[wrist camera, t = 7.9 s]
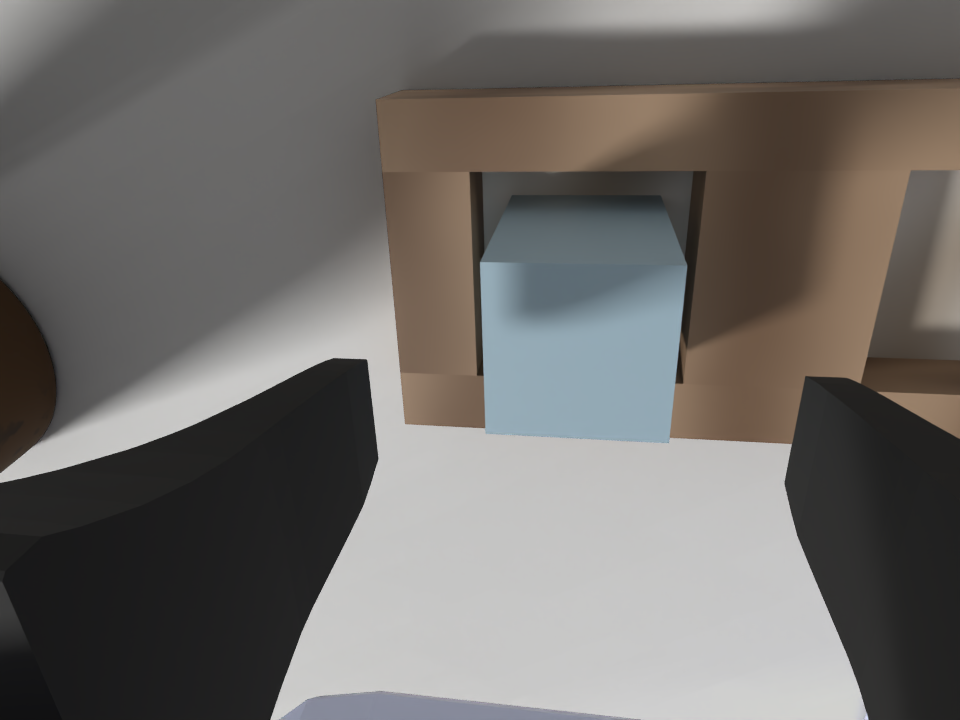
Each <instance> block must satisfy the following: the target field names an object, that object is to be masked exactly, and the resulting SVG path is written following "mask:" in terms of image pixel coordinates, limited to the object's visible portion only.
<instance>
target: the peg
mask: <svg viewBox="0 0 960 720" xmlns="http://www.w3.org/2000/svg"><path fill="white" fill-rule="evenodd" d="M686 274H687V263H686V261H685V258H684V255H683V253H682V250H681V247H680V245H679V242H678V240H677V237H676V234H675V232H674V229H673V226H672V224H671V221H670V218H669V216H668V213H667V211H666V208H665V205H664V203H663V200H662V197H661V195H512V196H511V198H510V200H509V203H508V205H507V207H506V209H505V211H504V213H503V215H502V217H501V219H500V221H499V223H498V226H497V228H496V230H495V232H494V234H493V236H492V238H491V240H490V242H489V244H488V247H487V249H486V251H485V253H484V255H483V257H482V259H481V261H480V277H481V308H482V338H483V369H484V400H485V431H486V434H503V435H522V436H541V437H560V438H579V439H598V440H617V441H636V442H655V443H669V438H670V429H671V419H672V409H673V399H674V390H675V380H676V370H677V361H678V351H679V341H680V332H681V322H682V312H683V303H684V293H685V283H686Z"/></svg>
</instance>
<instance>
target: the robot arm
mask: <svg viewBox="0 0 960 720" xmlns="http://www.w3.org/2000/svg"><path fill="white" fill-rule="evenodd" d="M377 462H378V451H377V442H376V434H375V425H374V416H373V407H372V398H371V389H370V381H369V372H368V363H367V360H366V359H339V358H333V359H330V360H327V361H324V362H322V363H320V364H317V365H315V366H313V367H311V368H309V369H307V370H305V371H303V372H301V373H299V374H297V375H295V376H293V377H291V378H289V379H287V380H285V381H283V382H281V383H279V384H277V385H275V386H274V387H272V388H270V389H268V390H266V391H264V392H262V393H260V394H258V395H256V396H254V397H252V398H250V399H248V400H246V401H244V402H242V403H240V404H238V405H235V406H233V407H231V408H229V409H227V410H225V411H223V412H221V413H218V414H216V415H214V416H212V417H210V418H208V419H206V420H203V421H201V422H199V423H197V424H195V425H192V426H190V427H187V428H185V429H183V430H180V431H178V432H175V433H173V434H170V435H167V436H165V437H162V438H159V439H157V440H154V441H151V442H148V443H146V444H143V445H140V446H137V447H134V448H131V449H128V450H125V451H122V452H119V453H115V454H112V455H108V456H105V457H102V458H98V459H95V460H91V461H88V462H85V463H81V464H78V465H74V466H71V467H67V468H64V469H60V470H56V471H52V472H48V473H43V474H39V475H35V476H31V477H27V478H22V479H17V480H13V481H8V482H3V483H0V720H270V719H271V716H272V713H273V710H274V707H275V704H276V701H277V698H278V695H279V692H280V689H281V687H282V684H283V681H284V678H285V676H286V673H287V670H288V668H289V665H290V662H291V659H292V657H293V654H294V651H295V649H296V646H297V643H298V640H299V638H300V635H301V632H302V630H303V628H304V626H305V623H306V621H307V619H308V617H309V614H310V612H311V610H312V608H313V606H314V604H315V602H316V600H317V598H318V596H319V594H320V592H321V590H322V588H323V586H324V584H325V582H326V580H327V578H328V576H329V574H330V572H331V570H332V568H333V566H334V564H335V562H336V560H337V558H338V556H339V554H340V552H341V550H342V548H343V546H344V544H345V542H346V540H347V538H348V536H349V534H350V532H351V530H352V528H353V526H354V524H355V522H356V520H357V518H358V516H359V514H360V511H361V509H362V507H363V505H364V502H365V499H366V496H367V493H368V490H369V487H370V485H371V481H372V478H373V475H374V471H375V468H376V465H377ZM785 487H786V492H787V496H788V500H789V505H790V509H791V513H792V517H793V521H794V525H795V528H796V532H797V536H798V538H799V541H800V543H801V546H802V548H803V551H804V553H805V556H806V558H807V561H808V563H809V565H810V568H811V570H812V573H813V575H814V578H815V580H816V582H817V585H818V587H819V589H820V592H821V594H822V597H823V599H824V601H825V604H826V606H827V608H828V611H829V613H830V615H831V618H832V620H833V623H834V625H835V627H836V630H837V632H838V634H839V637H840V639H841V642H842V644H843V646H844V649H845V651H846V653H847V656H848V658H849V661H850V664H851V666H852V669H853V672H854V675H855V677H856V680H857V683H858V685H859V688H860V692H861V695H862V699H863V702H864V705H865V709H866V712H867V713H866V716H865V719H864V720H960V439H959V438H957V437H955V436H954V435H952V434H950V433H948V432H946V431H945V430H943V429H941V428H939V427H937V426H936V425H934V424H932V423H930V422H929V421H927V420H925V419H923V418H922V417H920V416H918V415H916V414H915V413H913V412H911V411H909V410H908V409H906V408H904V407H902V406H901V405H899V404H897V403H895V402H894V401H892V400H890V399H888V398H887V397H885V396H883V395H881V394H879V393H878V392H876V391H874V390H872V389H870V388H868V387H866V386H864V385H862V384H860V383H858V382H856V381H854V380H851V379H849V378H842V377H815V376H805V380H804V385H803V390H802V396H801V401H800V406H799V411H798V416H797V421H796V426H795V432H794V437H793V442H792V447H791V452H790V457H789V462H788V468H787V473H786V478H785ZM279 720H639V719H630V718H621V717H612V716H603V715H594V714H584V713H575V712H566V711H557V710H548V709H539V708H530V707H521V706H512V705H503V704H494V703H485V702H476V701H467V700H458V699H449V698H439V697H430V696H421V695H412V694H403V693H394V692H385V691H376V692H364V693H352V694H340V695H328V696H320V697H315V698H311V699H307V700H306V701H305V702H303V703H302V704H300V705H299V706H298V707H296V708H295V709H293V710H292V711H291V712H289V713H288V714H286V715H285V716H284V717H282V718H281V719H279Z"/></svg>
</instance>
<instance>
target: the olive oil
mask: <svg viewBox="0 0 960 720" xmlns="http://www.w3.org/2000/svg"><path fill="white" fill-rule="evenodd" d="M55 403H56V381H55V374H54V369H53V365H52V361H51V358H50V355H49V352H48V349H47V346H46V344H45V342H44V339H43V337H42V335H41V333H40V331H39V329H38V328H37V326H36V324H35V322H34V321H33V319H32V318H31V316H30V315H29V313H28V312H27V310H26V309H25V307H24V306H23V305H22V303H21V302H20V301H19V300H18V298H17V297H16V296H15V295H14V294H13V293H12V291H11V290H10V289H9V288H8V287H7V286H6V285H5V284H4V283H3V282H2V281H1V280H0V473H1V472H2V471H3V470H5V469H6V468H7V467H8V466H10V465H11V464H12V463H13V462H15V461H16V460H17V459H18V458H20V457H21V456H22V455H23V454H24V453H26V452H27V451H28V450H29V449H30V448H31V447H32V446H34V445H35V444H36V443H37V442H38V440H39V439H40V438H41V437H42V436H43V434H44V433H45V431H46V430H47V428H48V426H49V424H50V422H51V420H52V417H53V413H54V409H55Z"/></svg>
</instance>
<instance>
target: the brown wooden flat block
mask: <svg viewBox="0 0 960 720" xmlns="http://www.w3.org/2000/svg"><path fill="white" fill-rule="evenodd" d="M376 110H377V121H378V132H379V143H380V154H381V165H382V176H383V186H384V197H385V208H386V219H387V230H388V241H389V252H390V263H391V274H392V285H393V296H394V307H395V318H396V329H397V340H398V351H399V362H400V373H401V384H402V395H403V406H404V417H405V424H414V425H433V426H453V427H472V428H485V400H484V369H483V338H482V308H481V277H480V261H481V259H482V257H483V255H484V253H485V251H486V249H487V247H488V244H489V242H490V240H491V238H492V236H493V234H494V232H495V230H496V228H497V226H498V223H499V221H500V219H501V217H502V215H503V213H504V211H505V209H506V207H507V205H508V203H509V200H510V198H511V196H512V195H661V197H662V200H663V203H664V205H665V208H666V211H667V213H668V216H669V218H670V221H671V224H672V226H673V229H674V232H675V234H676V237H677V240H678V242H679V245H680V247H681V250H682V253H683V255H684V258H685V261H686V263H687V274H686V283H685V293H684V303H683V312H682V322H681V332H680V341H679V351H678V361H677V370H676V380H675V390H674V399H673V409H672V419H671V429H670V438H687V439H706V440H726V441H745V442H765V443H784V444H792V442H793V437H794V432H795V426H796V421H797V416H798V411H799V406H800V401H801V396H802V390H803V385H804V380H805V376H815V377H842V378H849V379H851V380H854V381H856V382H858V383H860V384H862V385H864V386H866V387H868V388H870V389H872V390H874V391H876V392H878V393H879V394H881V395H883V396H885V397H887V398H888V399H890V400H892V401H894V402H895V403H897V404H899V405H901V406H902V407H904V408H906V409H908V410H909V411H911V412H913V413H915V414H916V415H918V416H920V417H922V418H923V419H925V420H927V421H929V422H930V423H932V424H934V425H936V426H937V427H939V428H941V429H943V430H945V431H946V432H948V433H950V434H952V435H954V436H955V437H957V438H959V439H960V79H914V80H867V81H819V82H772V83H725V84H678V85H631V86H584V87H537V88H490V89H442V90H401V91H398V92H396V93H393V94H390V95H387V96H384V97H382V98H379V99H376Z"/></svg>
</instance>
